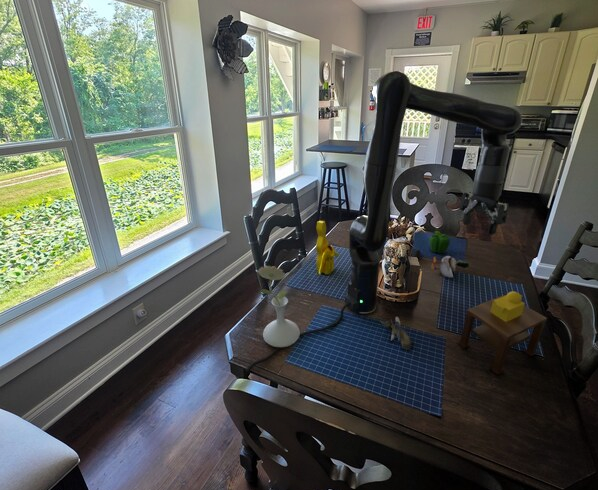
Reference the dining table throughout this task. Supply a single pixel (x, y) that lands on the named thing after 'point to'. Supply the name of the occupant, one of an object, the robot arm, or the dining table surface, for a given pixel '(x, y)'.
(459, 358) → the dining table surface
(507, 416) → the dining table surface
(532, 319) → the wooden side table
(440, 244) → the bell pepper
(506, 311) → the rubber duck
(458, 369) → the dining table surface
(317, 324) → the dining table surface
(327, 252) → the figure statuette
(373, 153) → the robot arm
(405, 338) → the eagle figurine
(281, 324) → the flower in vase
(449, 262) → the decorative duck model
